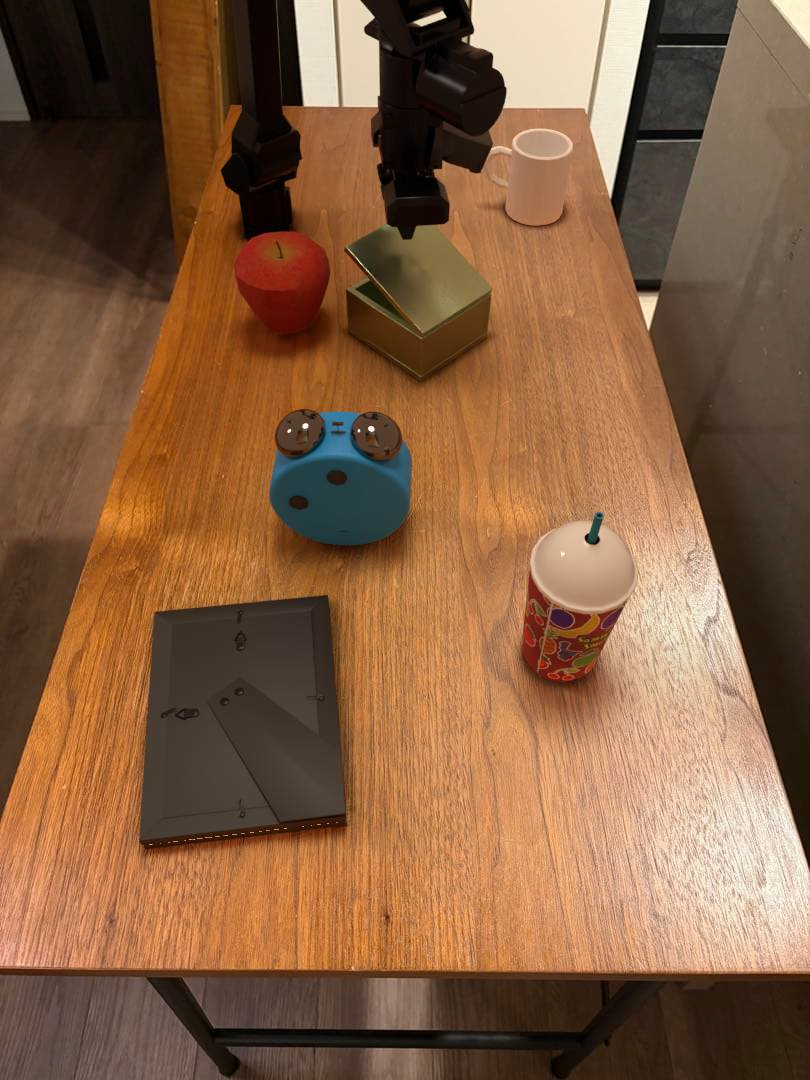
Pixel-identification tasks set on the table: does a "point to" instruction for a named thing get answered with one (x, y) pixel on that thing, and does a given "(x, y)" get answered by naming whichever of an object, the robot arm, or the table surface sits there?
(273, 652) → the picture frame
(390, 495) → the alarm clock
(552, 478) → the table surface
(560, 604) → the smoothie
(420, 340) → the brass box
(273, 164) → the robot arm
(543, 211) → the mug
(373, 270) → the lid
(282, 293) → the apple
